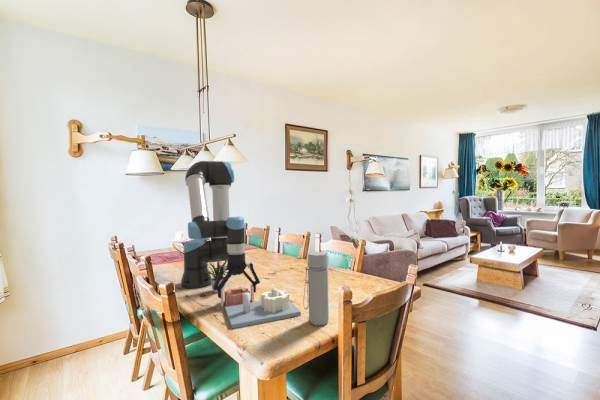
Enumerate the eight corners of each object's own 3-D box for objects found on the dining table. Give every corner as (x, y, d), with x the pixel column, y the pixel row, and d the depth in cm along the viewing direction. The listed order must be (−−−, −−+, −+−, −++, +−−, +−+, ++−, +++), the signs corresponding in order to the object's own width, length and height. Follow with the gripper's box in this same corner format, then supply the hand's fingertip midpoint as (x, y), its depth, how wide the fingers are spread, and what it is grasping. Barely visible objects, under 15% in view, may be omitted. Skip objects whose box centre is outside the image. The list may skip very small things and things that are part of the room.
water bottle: (327, 316, 108) (326, 251, 107) (330, 326, 100) (329, 255, 99) (303, 317, 108) (302, 251, 107) (304, 327, 100) (302, 256, 99)
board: (225, 310, 115) (224, 289, 115) (285, 300, 125) (285, 280, 125) (232, 328, 100) (231, 304, 99) (300, 315, 110) (300, 293, 109)
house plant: (199, 298, 129) (198, 262, 129) (201, 288, 142) (200, 256, 142) (231, 295, 133) (230, 260, 132) (230, 285, 146) (229, 254, 146)
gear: (223, 300, 126) (223, 289, 126) (246, 297, 130) (246, 286, 130) (227, 309, 117) (227, 297, 116) (251, 305, 120) (251, 293, 120)
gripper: (207, 257, 114) (208, 310, 115) (266, 251, 124) (267, 300, 124) (205, 254, 121) (207, 304, 122) (261, 248, 131) (262, 295, 131)
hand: (237, 302), depth 123 cm, fingers open, 12 cm apart
